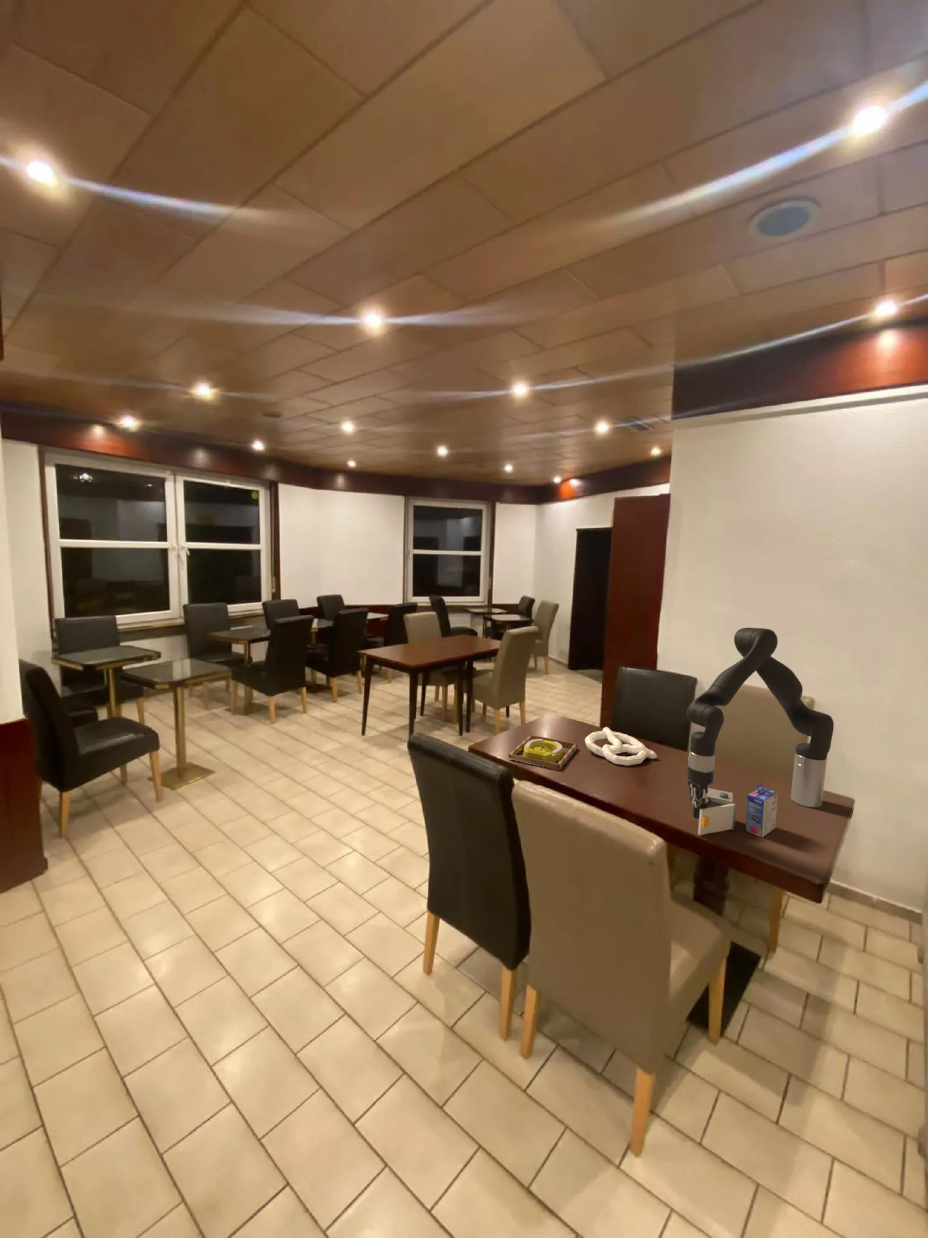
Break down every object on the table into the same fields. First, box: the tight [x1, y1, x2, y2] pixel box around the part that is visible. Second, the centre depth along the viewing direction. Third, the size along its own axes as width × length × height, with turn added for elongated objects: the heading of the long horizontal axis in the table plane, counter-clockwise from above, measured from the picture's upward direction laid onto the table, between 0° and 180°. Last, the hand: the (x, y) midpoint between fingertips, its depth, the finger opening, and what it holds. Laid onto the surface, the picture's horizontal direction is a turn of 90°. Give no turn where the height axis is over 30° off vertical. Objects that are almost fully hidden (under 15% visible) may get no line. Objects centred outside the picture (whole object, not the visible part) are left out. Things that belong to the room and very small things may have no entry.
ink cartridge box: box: [745, 782, 779, 838], centre depth 161 cm, size 10×6×14 cm, turn 127°
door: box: [697, 802, 738, 836], centre depth 159 cm, size 2×14×8 cm, turn 107°
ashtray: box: [523, 739, 564, 763], centre depth 219 cm, size 16×21×5 cm
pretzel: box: [584, 726, 658, 766], centre depth 222 cm, size 28×24×6 cm
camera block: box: [707, 787, 734, 808], centre depth 167 cm, size 7×9×10 cm
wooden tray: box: [508, 734, 578, 771], centre depth 221 cm, size 27×22×2 cm
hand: (696, 817), depth 162 cm, fingers closed
